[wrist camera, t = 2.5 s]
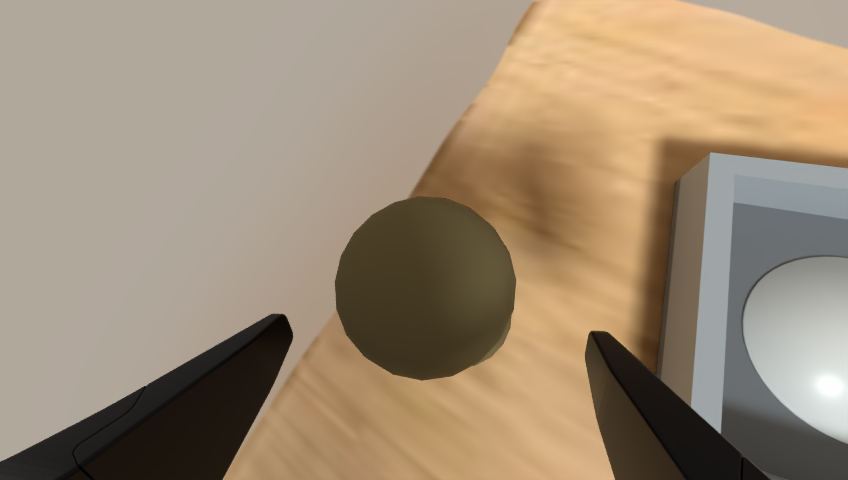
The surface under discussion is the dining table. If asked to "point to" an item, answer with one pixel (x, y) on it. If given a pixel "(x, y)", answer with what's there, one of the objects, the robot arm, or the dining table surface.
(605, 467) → the dining table surface
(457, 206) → the cork
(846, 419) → the walled pen
